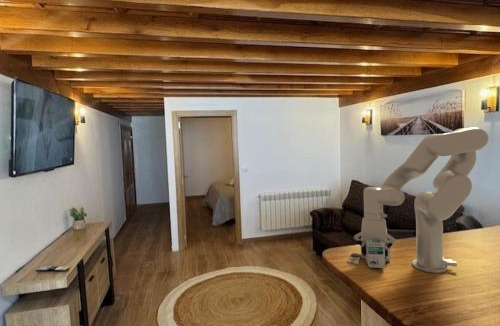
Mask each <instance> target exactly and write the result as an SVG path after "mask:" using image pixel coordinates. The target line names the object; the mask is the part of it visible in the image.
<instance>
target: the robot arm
mask: <svg viewBox="0 0 500 326" xmlns="http://www.w3.org/2000/svg"><path fill="white" fill-rule="evenodd" d="M488 142H489V134H488V133H487V131H486V130H484V129H482V128H481V127H465V128H457V129H455V130H454V131H452V132H446V133H433V134H429V135H427V136H425V137H423V139H422V140H421V142H420V143H419V144H418V145H417V147H416V148H415V149H414V150H413V151H412V152H411V154H410V155H409V156H408V158H407V159H406V160H405V161H404V162H403V163H402V164H401V165H400V166H398V167H397V168H396V169H395V170H394V171H393V172H392V173H390V175H389V176H388V177H387V178H386V180H385V181H384V182H383V183H382V185H381V186H380V187H378V186H368V187H367V186H366V187H365V188H364V189H363V218H362V219H361V220H362V221H361V231H360V232H359V233H356V234H355V235H354V236H353V239H354V240H355V241H356V243H357V244H358V245H359V246H360V248H361V247H362V254H363V256H365V255H366V248H365V244H366V241H367V240H375V241H383V242H384V243H385V259H386V256H388V249H389V248H390V249H391V247H392V246H393V245H394V244H395V243H396V239H395V238H394V237H393V236H392V235H391V234H389V233H388V228H387V221H386V219H385V218H387V217H388V214H386V213H384V206H390V207H391V206H395V207H396V206H400V205H402V204H403V203H404V201H405V200H406V197H405V193H404V191H402V189H403V187H404V186H405V185H406V184H407V183H409V182H410V181H413V180H414V179H417V178H420V177H422V176H423V175H424V174H426V172H427V171H428V170H429V169H430V167H431V166H432V165H433V164H434V162H435V161H436V160H437V159H438V158H439V157H447V156H448V157H449V156H450V158H449V159H448V160H447V162H446V163H445V165H444V166H443V167H442V168H441V170H440V171H439V172H438V173H437V174H436V175H435V177H434V178H433V180H432V187H434V189H435V190H436V192H433V191H429V190H427V191H422V192H420V193H418V194H417V195H416V196H415V199H414V201H413V202H414V203H413V204H414V206H413V207H414V213H415V222H416V223H415V225H416V226H415V228H416V229H415V231H416V232H415V233H416V234H415V237H416V238H415V240H416V241H415V245H416V248H415V249H416V251H415V252H416V253H415V254H416V258H415V259H413V260H412V263H411V264H412V266H413V267H414V268H416V269H418V270H419V271H422V272H427V273H433V274H434V273H435V274H441V273H445V272H447V271H448V266H450V267H455V268H456V267H458V264H457V261H453V260H452V259H446V258H445V257H444V237H443V236H444V233H443V232H444V225H443V224H444V223H443V221H445V220H447V219H449V218H451V217H452V216H453V214H455V212H456V211H457V210H458V209H459V208H460V207H461V205H463V203H464V202H465V201H466V199H468V197H469V196H470V193H471V192H472V189H473V184H472V181H471V179H470V178H469V177H468V176H469V174H470V173H471V171H472V170H473V168H474V167H475V164H476V162H477V151H480V150H481V149H483V148H484V147H486V145H487V144H488ZM361 238H362V241H363V242H362V241H361ZM387 238H388V239H390V243H388V244H387Z"/></svg>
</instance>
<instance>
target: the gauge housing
mask: <svg viewBox="0 0 500 326" xmlns="http://www.w3.org/2000/svg"><path fill="white" fill-rule="evenodd" d="M387 241H390V242H391V240H390V239H388V238H387ZM359 254H360V255H361V253H359ZM360 260H361V257H359V256H351V254H350V255H349V257H348V260H347V263H348V264H357V265H359V263H360Z"/></svg>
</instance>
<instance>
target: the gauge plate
mask: <svg viewBox="0 0 500 326" xmlns="http://www.w3.org/2000/svg"><path fill="white" fill-rule="evenodd" d="M360 240H361V241H362V238H361V237H360ZM362 242H363V241H362ZM390 242H391V240H390V241H387V244H388V243H390ZM352 253H353V252H350V255H351V256H359V257H360V259H363V260H366V258H365V256H363V254H362V247H361V246H360V253H358V254H352ZM360 254H361V255H360ZM385 262H391V247H390V248H389V249H388V256H386V259H385Z"/></svg>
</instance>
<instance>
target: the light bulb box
mask: <svg viewBox="0 0 500 326" xmlns="http://www.w3.org/2000/svg"><path fill="white" fill-rule="evenodd" d="M365 248H366V255H365V258H366V259H365V261H366V263H367V266H368V268H372V269H373V268H376V269H378V268H379V269H386V261H385V243H384V242H383V241H375V240H367V241H366V244H365Z"/></svg>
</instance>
